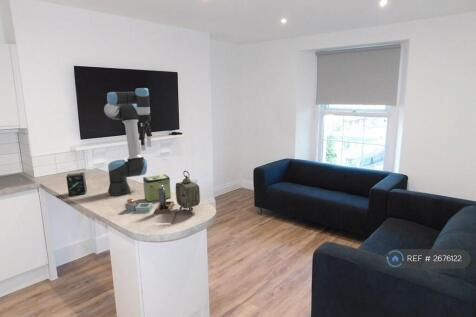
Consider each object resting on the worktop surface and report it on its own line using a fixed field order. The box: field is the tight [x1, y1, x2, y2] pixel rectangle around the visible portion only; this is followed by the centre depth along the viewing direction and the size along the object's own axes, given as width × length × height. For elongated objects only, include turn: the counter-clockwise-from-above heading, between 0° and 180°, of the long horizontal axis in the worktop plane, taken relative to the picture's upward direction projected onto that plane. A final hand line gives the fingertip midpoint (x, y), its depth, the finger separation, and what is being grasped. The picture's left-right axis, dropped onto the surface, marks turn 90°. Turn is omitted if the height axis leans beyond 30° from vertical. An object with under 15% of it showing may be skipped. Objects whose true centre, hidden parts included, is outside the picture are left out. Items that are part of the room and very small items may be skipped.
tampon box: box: [65, 171, 88, 197], centre depth 229 cm, size 11×9×15 cm
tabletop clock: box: [175, 170, 201, 215], centre depth 190 cm, size 14×9×25 cm, turn 37°
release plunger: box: [126, 198, 135, 205], centre depth 191 cm, size 4×4×5 cm
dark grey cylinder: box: [158, 185, 167, 210], centre depth 188 cm, size 4×4×16 cm
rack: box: [153, 200, 176, 215], centre depth 193 cm, size 16×10×3 cm, turn 1°
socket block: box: [124, 201, 155, 215], centre depth 192 cm, size 12×15×5 cm
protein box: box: [142, 173, 172, 203], centre depth 213 cm, size 10×16×16 cm
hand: (146, 148), depth 197 cm, fingers open, 13 cm apart
